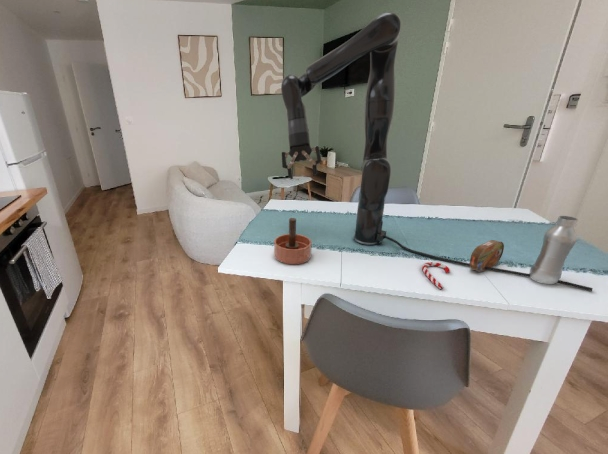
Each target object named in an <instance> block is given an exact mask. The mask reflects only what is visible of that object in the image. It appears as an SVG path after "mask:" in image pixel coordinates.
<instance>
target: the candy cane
mask: <svg viewBox="0 0 608 454" xmlns="http://www.w3.org/2000/svg"><path fill="white" fill-rule="evenodd" d="M429 267H437V268H441V269H443V270H444V271H445V273H446V274H449V273H450V271H451V270H450V268H449V266H448V265H445V264H443V263H440V262H435V261H428V262H425V263H423V265H422V267H421V269H422V272H423V274H424V276H426V278H427V279H428V280H429V281H430V282H431V283H432V284H433V285H434V286H435V287H437V288H438V289H439V290H442V289H444V285H443V284H442V283H440V281H438V280H437V279H436V278H435V277H434V276H433V275H432V274H431V272H429V270H428V268H429Z"/></svg>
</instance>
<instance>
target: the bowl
mask: <svg viewBox="0 0 608 454" xmlns="http://www.w3.org/2000/svg"><path fill="white" fill-rule="evenodd" d="M288 242H289V233H286V234H281V235H278V236H277V237H275V238H274V240H273V256H274V258H275V259H276V260H277V261H279V262H281V263H283V264H286V265H300V264H303V263H306V262H308V261H309V260H310V259H311V257H312V244H313V243H312V240H311V238H310V237H308V236H306V235H302V234H298V233H296V243H298V244H299V249H286V248H285V245H286V243H288Z"/></svg>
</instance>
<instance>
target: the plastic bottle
mask: <svg viewBox="0 0 608 454" xmlns="http://www.w3.org/2000/svg"><path fill="white" fill-rule="evenodd" d="M578 220H579V219H578V218H577V217H574V216H569V215H559V216H558V218H557V219H556V221H555V225H553V226H551V227H549V228H548V229H547V230H546V231H545V232H544V235H543V240H542V245H541V248H540V251H539V254H538V256H537V258H536V260H535V261H534V263H533V264H532V265H531V267H530V268H529V273H528V274H529V275H530V277H529V278H531V279H532V280H533V281H535V282H538V283H540V284H544V285H555V284H556V283H557V282H558V281H559V280H561V278H562V274H563V267H564V265H565V262H566V259H567V257H568V256H569V254H570V252H571V251H572V249H573V248H574V246H575V245H576V243H578V239H579V234H578V233H577V231H576V229H575V227H577V223H578ZM557 284H558V283H557Z"/></svg>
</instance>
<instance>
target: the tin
mask: <svg viewBox="0 0 608 454" xmlns="http://www.w3.org/2000/svg"><path fill="white" fill-rule="evenodd" d="M504 249H505V243H504V242H502V241H499V240H494V239H491V240H488V241H486V242H484V243H482V244H480V245H478V246H476V247H475V248H474V249H473V250H472V252H471V253H470V260H469V263H470V264H469V266H468V267H469V268H470V269H471V270H473V271H476V272H478V273H483V272H485V271H487V269H485V267H492V268H494V267H495V266H496V265H497V264H498V263H499V262H500V260H501V258H502V257H503V254H504V251H505V250H504Z"/></svg>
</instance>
